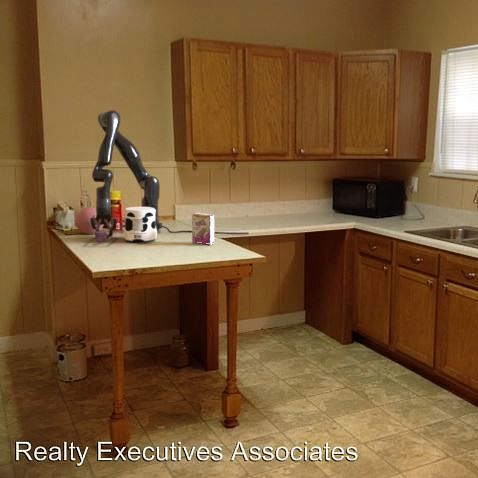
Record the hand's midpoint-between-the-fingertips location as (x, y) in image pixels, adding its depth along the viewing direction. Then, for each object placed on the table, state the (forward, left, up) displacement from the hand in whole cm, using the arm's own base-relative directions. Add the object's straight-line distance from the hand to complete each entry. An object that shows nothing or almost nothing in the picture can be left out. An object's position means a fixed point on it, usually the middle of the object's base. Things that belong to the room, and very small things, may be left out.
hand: (104, 236), depth 329 cm
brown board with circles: (0, +7, -2) cm, 8 cm away
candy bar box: (-54, +7, -2) cm, 55 cm away
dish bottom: (0, +7, -1) cm, 8 cm away
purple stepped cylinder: (0, +7, +1) cm, 8 cm away
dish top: (0, 0, -1) cm, 1 cm away
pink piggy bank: (+10, -13, -2) cm, 16 cm away
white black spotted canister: (-20, +3, -2) cm, 20 cm away
